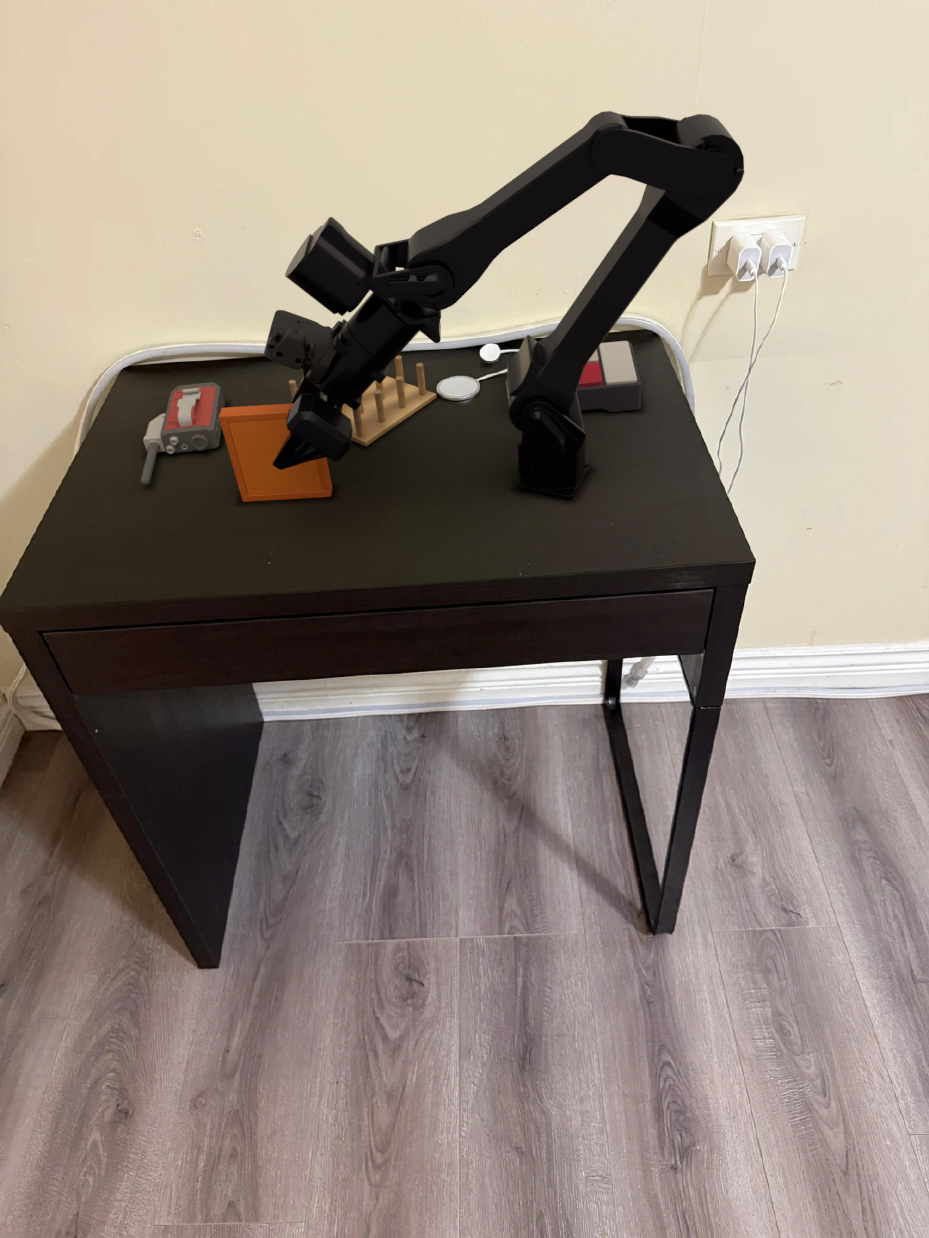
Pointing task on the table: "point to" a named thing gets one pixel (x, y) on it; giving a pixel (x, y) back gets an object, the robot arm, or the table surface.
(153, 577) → the table surface
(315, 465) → the lid
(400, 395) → the rack
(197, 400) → the walkie-talkie
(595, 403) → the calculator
